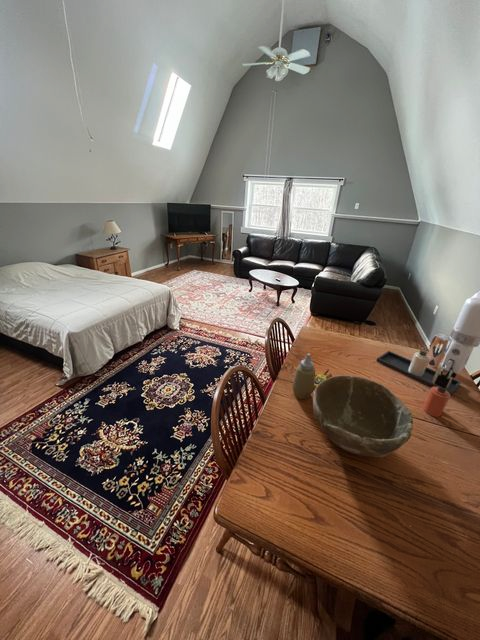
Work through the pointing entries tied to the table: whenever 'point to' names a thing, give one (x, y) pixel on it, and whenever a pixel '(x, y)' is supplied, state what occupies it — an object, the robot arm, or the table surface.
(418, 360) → the cream bottle
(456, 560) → the table surface
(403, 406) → the bowl
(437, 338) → the beer glass
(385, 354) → the tray
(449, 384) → the cream bottle
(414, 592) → the table surface
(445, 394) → the terracotta bottle
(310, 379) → the squeeze bottle
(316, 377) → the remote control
